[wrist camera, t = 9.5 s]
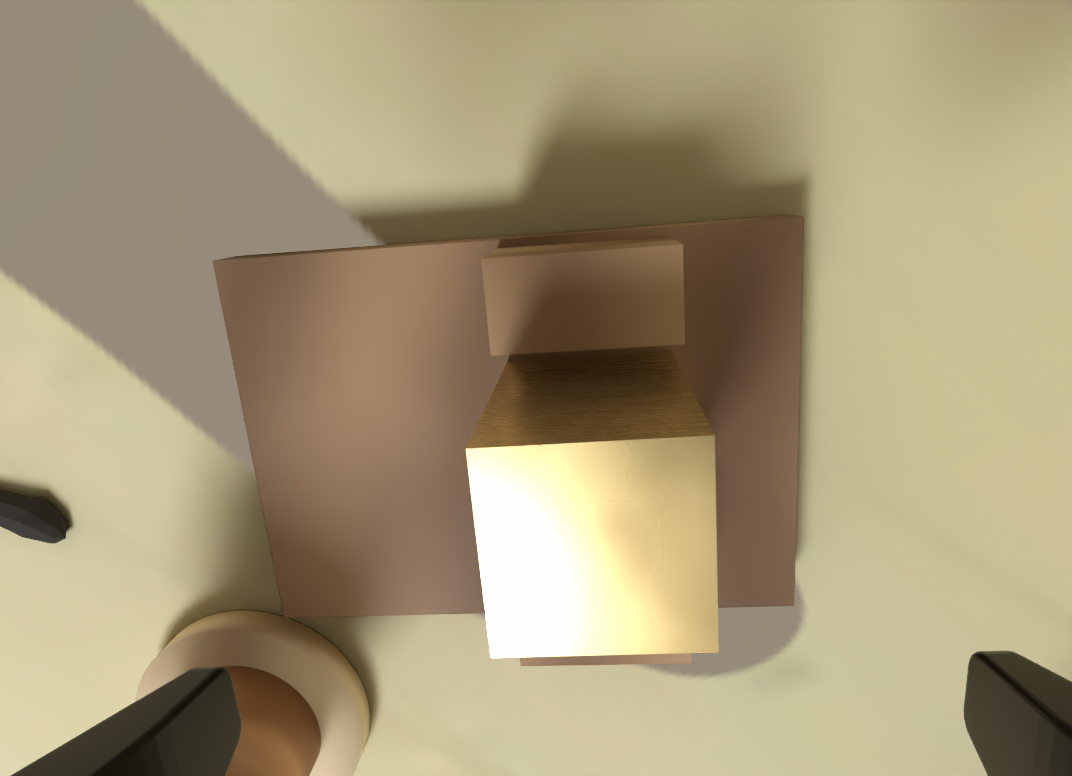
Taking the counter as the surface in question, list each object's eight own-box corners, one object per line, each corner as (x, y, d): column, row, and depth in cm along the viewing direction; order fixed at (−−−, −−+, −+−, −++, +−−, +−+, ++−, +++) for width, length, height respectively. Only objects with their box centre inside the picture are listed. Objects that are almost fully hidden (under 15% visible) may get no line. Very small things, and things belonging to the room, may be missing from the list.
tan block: (677, 502, 18) (718, 652, 12) (522, 509, 18) (490, 658, 12) (672, 350, 17) (715, 435, 11) (507, 361, 17) (465, 448, 11)
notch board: (789, 214, 17) (842, 222, 13) (781, 580, 20) (824, 668, 16) (236, 256, 18) (150, 272, 15) (301, 593, 21) (241, 677, 17)
